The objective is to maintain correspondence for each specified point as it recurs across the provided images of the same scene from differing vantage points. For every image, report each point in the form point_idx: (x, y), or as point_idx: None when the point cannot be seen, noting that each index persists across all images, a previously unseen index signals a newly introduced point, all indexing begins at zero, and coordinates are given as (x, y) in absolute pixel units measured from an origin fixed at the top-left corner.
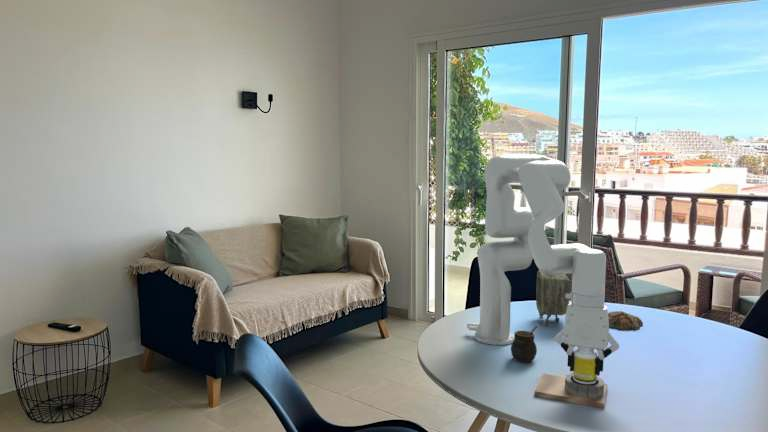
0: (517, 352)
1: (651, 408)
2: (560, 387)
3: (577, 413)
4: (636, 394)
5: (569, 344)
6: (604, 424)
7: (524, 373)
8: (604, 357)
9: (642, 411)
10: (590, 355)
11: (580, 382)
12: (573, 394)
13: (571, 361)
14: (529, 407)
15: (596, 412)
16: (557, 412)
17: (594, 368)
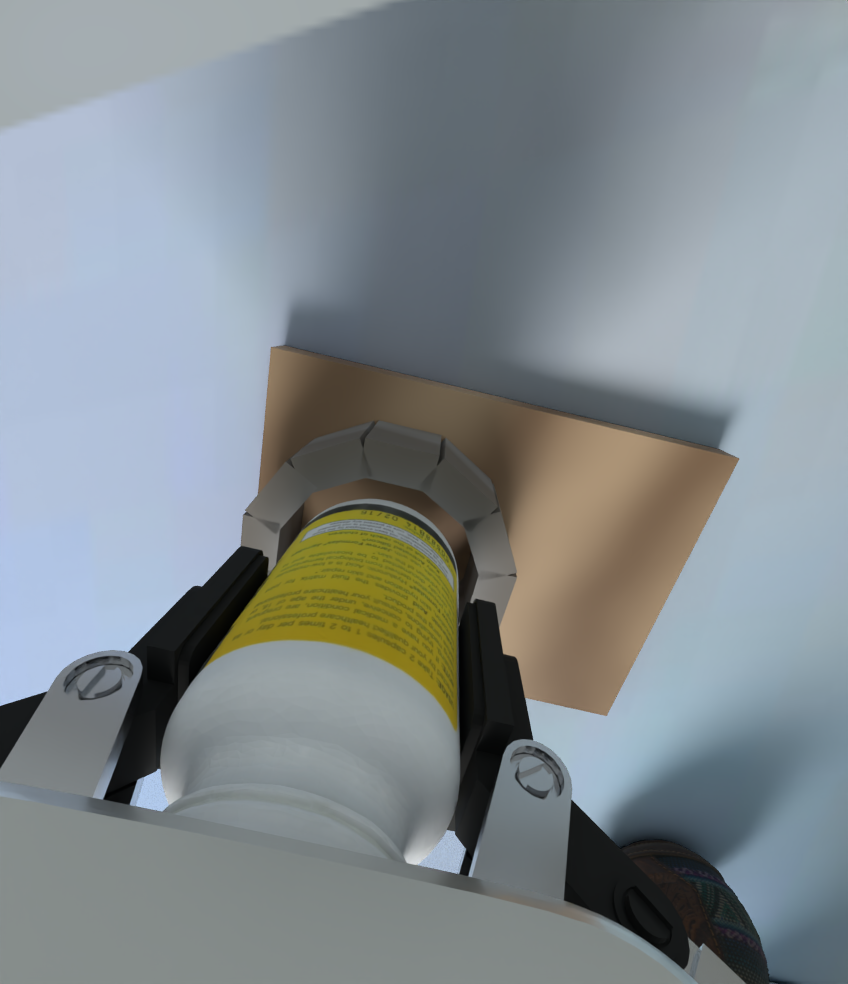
0: (731, 906)
1: (17, 410)
2: (534, 548)
3: (470, 218)
4: (108, 574)
5: (608, 926)
6: (294, 54)
7: (689, 731)
8: (62, 683)
9: (61, 355)
10: (238, 694)
11: (412, 511)
12: (465, 456)
13: (492, 667)
14: (818, 243)
15: (337, 270)
16: (617, 199)
17: (261, 588)
